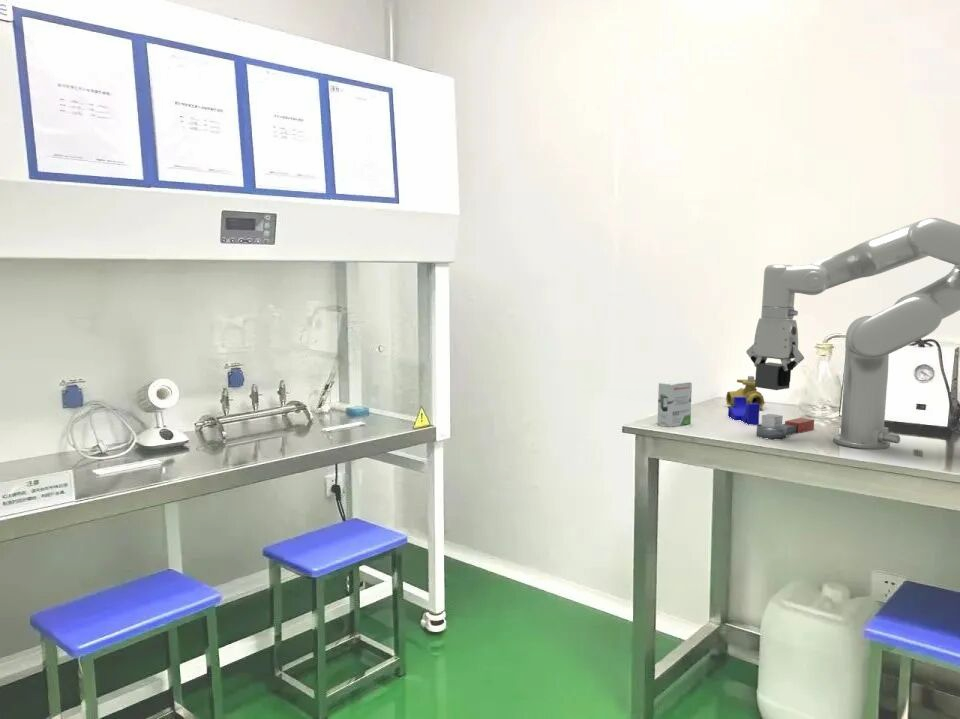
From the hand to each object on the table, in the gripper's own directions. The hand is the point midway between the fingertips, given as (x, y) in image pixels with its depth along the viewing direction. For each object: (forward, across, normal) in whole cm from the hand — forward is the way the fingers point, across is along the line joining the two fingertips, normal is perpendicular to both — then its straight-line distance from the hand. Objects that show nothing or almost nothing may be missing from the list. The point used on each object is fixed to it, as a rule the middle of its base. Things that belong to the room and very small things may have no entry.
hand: (772, 383), depth 196 cm
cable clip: (+14, +16, -13) cm, 25 cm away
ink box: (+14, +24, +7) cm, 29 cm away
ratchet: (+14, -1, -7) cm, 16 cm away
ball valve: (+14, +28, -32) cm, 45 cm away
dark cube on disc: (+1, 0, 0) cm, 1 cm away
